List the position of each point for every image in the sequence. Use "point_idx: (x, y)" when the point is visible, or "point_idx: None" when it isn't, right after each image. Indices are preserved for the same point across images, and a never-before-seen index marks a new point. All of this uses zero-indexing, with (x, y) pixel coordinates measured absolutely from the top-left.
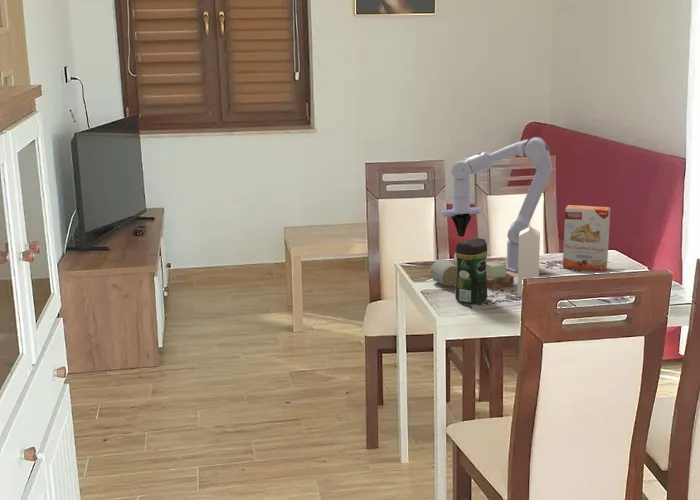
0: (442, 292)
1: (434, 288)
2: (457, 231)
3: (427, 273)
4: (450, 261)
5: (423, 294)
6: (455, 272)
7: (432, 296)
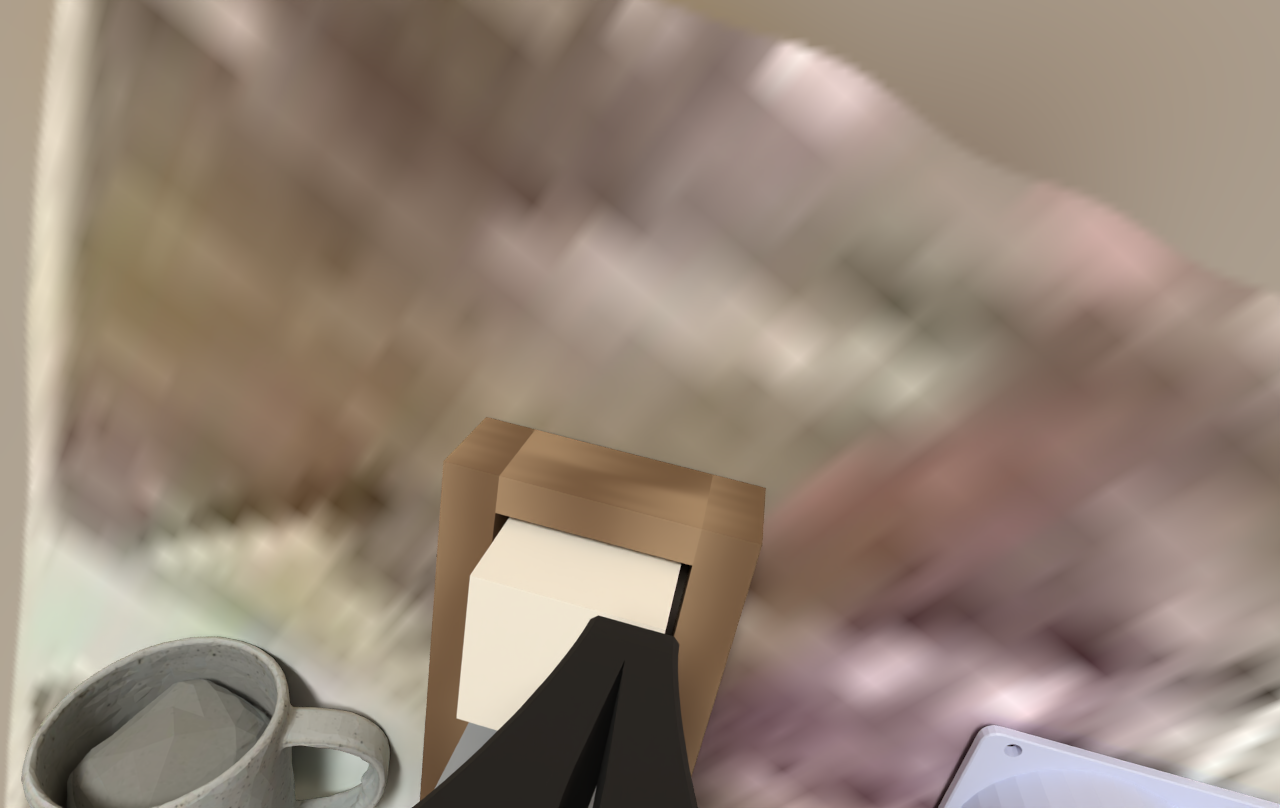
0: None
1: None
2: (554, 683)
3: (245, 404)
4: (452, 516)
5: None
6: None
7: None
